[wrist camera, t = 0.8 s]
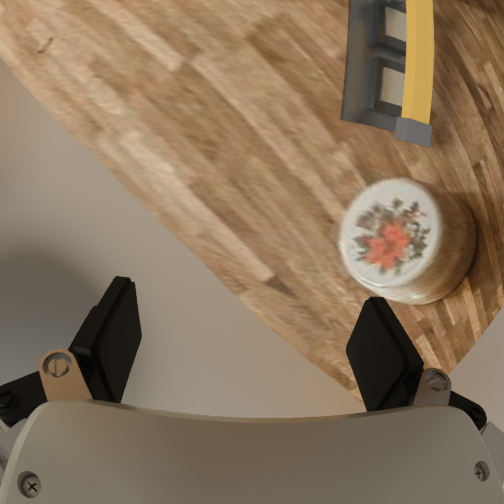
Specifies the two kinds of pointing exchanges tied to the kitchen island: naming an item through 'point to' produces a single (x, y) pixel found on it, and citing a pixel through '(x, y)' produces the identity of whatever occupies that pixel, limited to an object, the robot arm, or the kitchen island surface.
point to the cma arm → (417, 75)
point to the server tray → (375, 63)
